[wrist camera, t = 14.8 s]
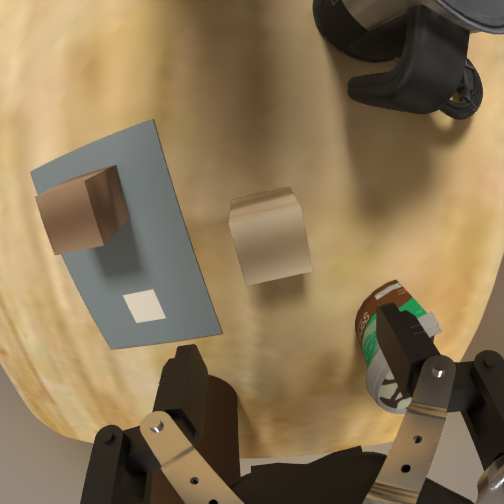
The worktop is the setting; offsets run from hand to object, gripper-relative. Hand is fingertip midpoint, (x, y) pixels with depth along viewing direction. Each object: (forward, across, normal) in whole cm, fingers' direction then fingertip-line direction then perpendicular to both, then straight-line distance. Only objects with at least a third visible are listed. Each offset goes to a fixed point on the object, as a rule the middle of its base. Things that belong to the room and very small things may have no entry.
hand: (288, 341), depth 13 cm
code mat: (+16, +14, 0) cm, 21 cm away
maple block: (+16, 0, 0) cm, 16 cm away
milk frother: (+16, -16, -14) cm, 26 cm away
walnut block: (+16, +14, -6) cm, 22 cm away
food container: (+16, -9, +14) cm, 23 cm away
